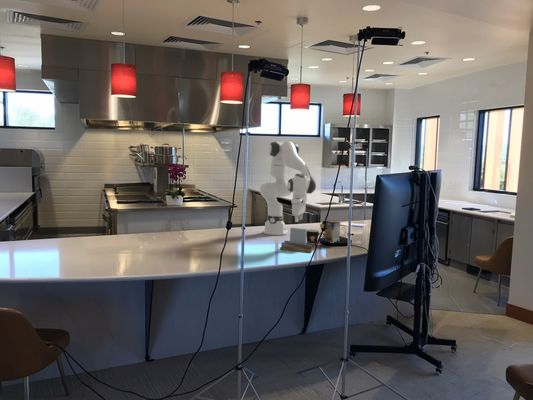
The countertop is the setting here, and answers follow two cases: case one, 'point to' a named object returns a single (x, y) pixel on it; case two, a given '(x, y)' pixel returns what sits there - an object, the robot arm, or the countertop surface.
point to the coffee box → (331, 231)
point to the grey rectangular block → (298, 235)
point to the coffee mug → (313, 236)
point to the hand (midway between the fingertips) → (298, 220)
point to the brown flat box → (297, 247)
